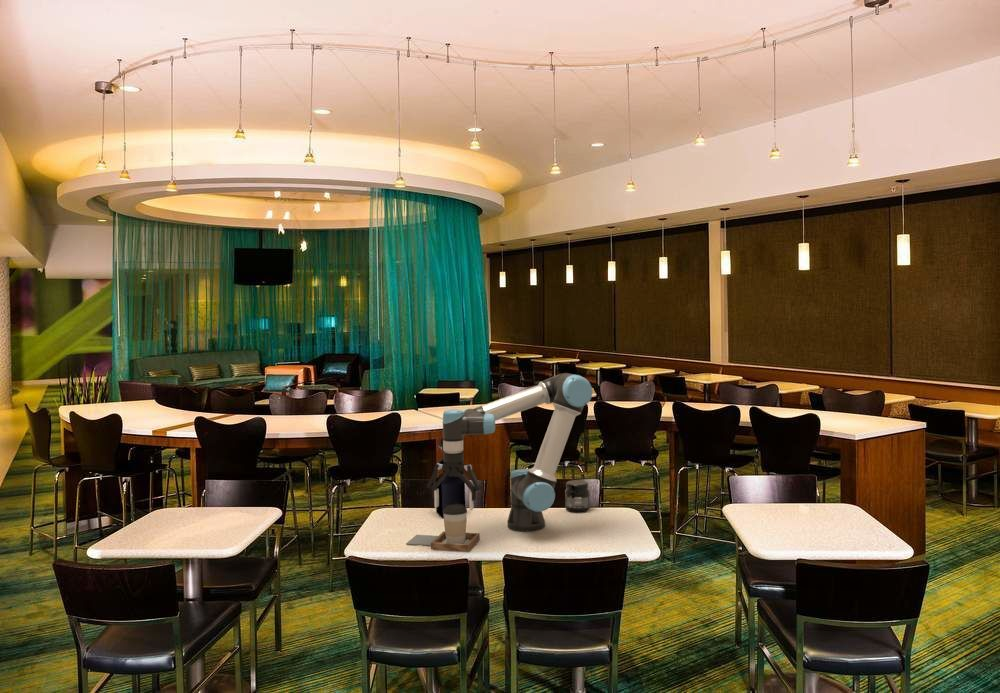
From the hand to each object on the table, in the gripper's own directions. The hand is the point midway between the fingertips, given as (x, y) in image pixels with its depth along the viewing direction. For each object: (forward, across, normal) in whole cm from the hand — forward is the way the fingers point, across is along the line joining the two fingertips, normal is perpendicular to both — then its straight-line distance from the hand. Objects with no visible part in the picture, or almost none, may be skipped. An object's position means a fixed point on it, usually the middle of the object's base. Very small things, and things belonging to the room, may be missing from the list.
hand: (454, 508), depth 270 cm
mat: (+14, +12, -2) cm, 19 cm away
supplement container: (+13, -38, -54) cm, 68 cm away
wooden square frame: (+14, 0, 0) cm, 14 cm away
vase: (+14, +14, -39) cm, 44 cm away
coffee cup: (+14, 0, 0) cm, 14 cm away
